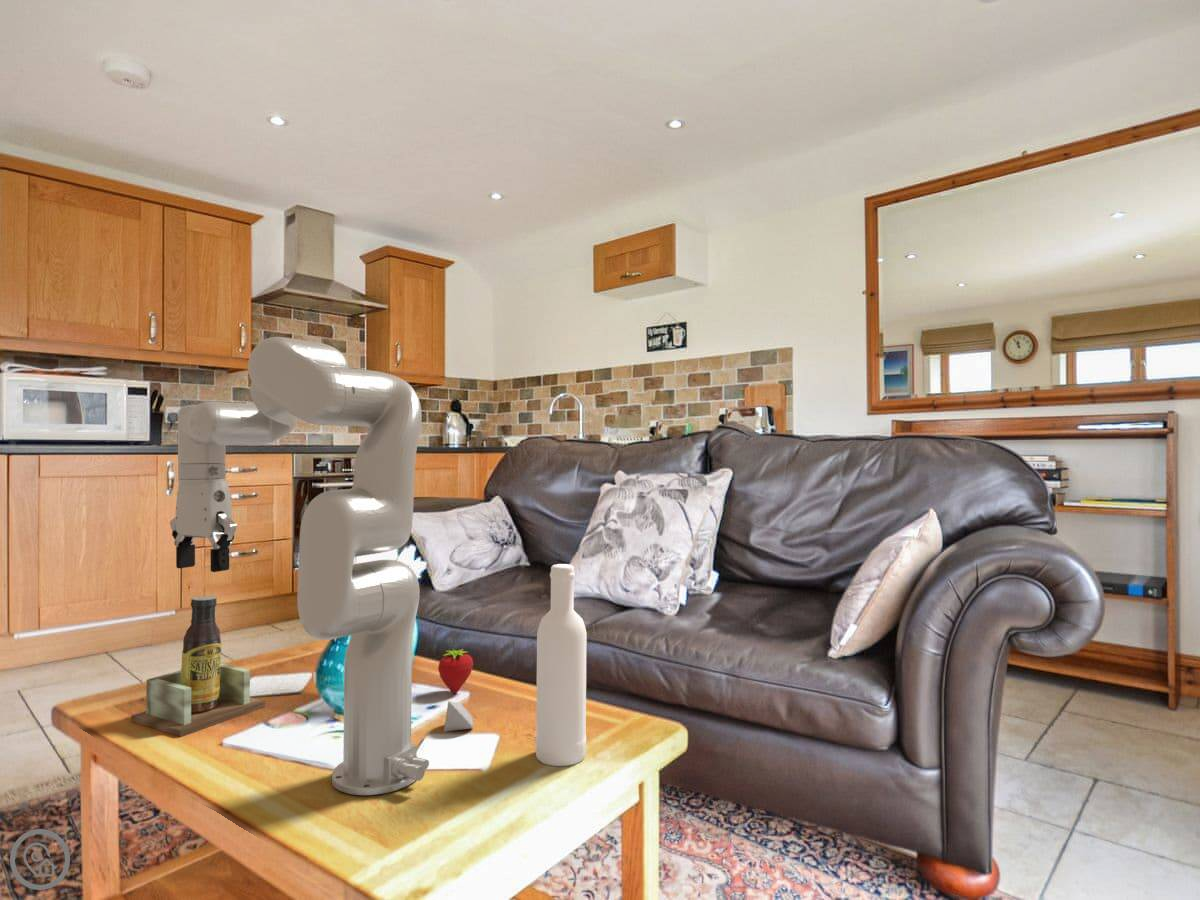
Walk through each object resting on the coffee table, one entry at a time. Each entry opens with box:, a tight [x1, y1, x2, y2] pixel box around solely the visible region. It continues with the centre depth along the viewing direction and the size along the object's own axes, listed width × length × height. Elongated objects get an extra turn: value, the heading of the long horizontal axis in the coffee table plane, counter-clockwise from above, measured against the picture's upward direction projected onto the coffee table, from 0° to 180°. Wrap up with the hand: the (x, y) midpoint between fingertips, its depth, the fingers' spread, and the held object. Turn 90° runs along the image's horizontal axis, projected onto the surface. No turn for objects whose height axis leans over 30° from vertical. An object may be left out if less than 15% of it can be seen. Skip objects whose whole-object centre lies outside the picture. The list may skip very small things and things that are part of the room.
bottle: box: [535, 563, 588, 767], centre depth 113 cm, size 8×8×30 cm
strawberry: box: [437, 647, 474, 694], centre depth 142 cm, size 6×8×10 cm
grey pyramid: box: [443, 700, 474, 733], centre depth 124 cm, size 6×6×5 cm
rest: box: [130, 663, 266, 738], centre depth 130 cm, size 14×16×7 cm
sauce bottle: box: [180, 595, 222, 713], centre depth 130 cm, size 6×6×20 cm
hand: (202, 569), depth 130 cm, fingers open, 9 cm apart
